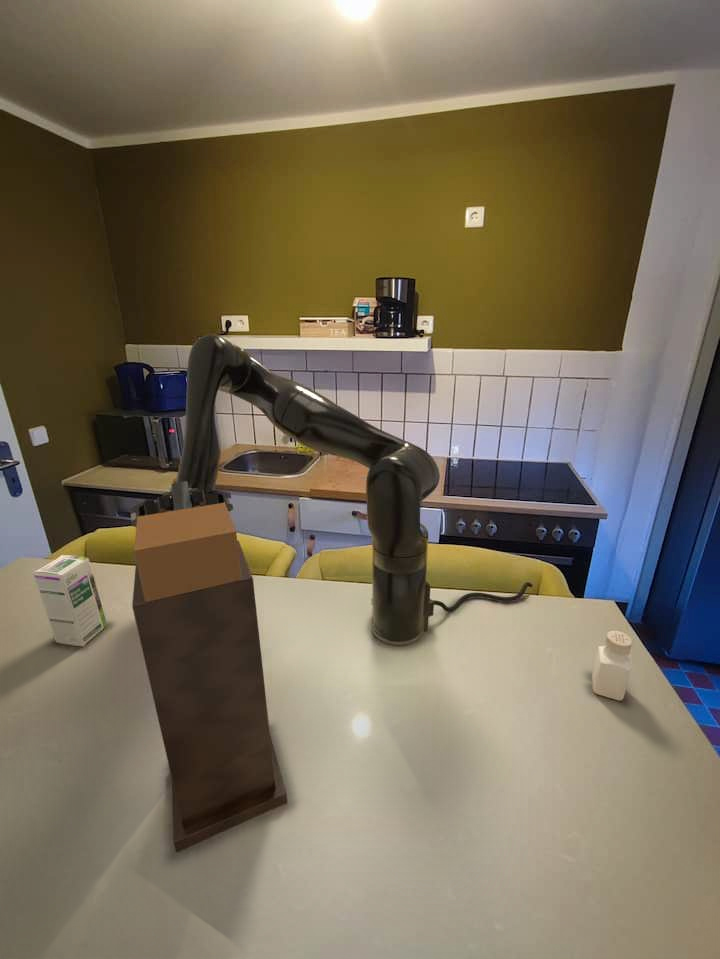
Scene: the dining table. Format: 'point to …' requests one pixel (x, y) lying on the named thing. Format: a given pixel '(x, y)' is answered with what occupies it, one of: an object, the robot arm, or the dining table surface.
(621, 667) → the pepper shaker
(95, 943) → the dining table surface
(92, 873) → the dining table surface
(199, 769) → the brown wooden tall block
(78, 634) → the syrup box
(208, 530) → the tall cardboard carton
